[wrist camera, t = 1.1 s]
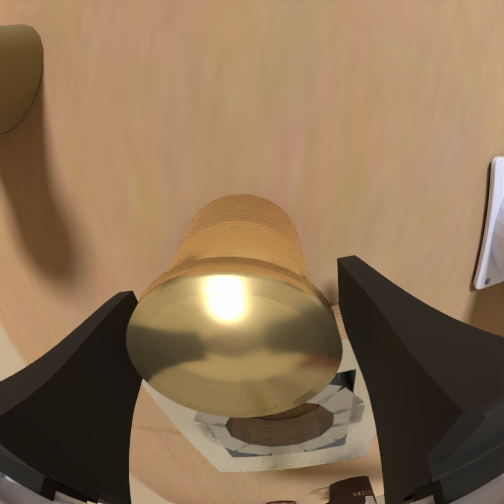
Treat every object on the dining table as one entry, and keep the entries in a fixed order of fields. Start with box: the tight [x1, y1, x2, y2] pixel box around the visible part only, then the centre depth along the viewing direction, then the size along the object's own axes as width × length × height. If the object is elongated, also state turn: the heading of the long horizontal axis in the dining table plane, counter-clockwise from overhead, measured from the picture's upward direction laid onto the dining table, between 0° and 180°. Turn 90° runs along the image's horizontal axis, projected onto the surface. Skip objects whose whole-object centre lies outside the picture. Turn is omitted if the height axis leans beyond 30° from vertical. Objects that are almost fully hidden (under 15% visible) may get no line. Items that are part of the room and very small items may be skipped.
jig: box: [141, 304, 376, 472], centre depth 18 cm, size 14×18×2 cm
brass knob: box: [126, 195, 343, 418], centre depth 10 cm, size 6×6×6 cm
